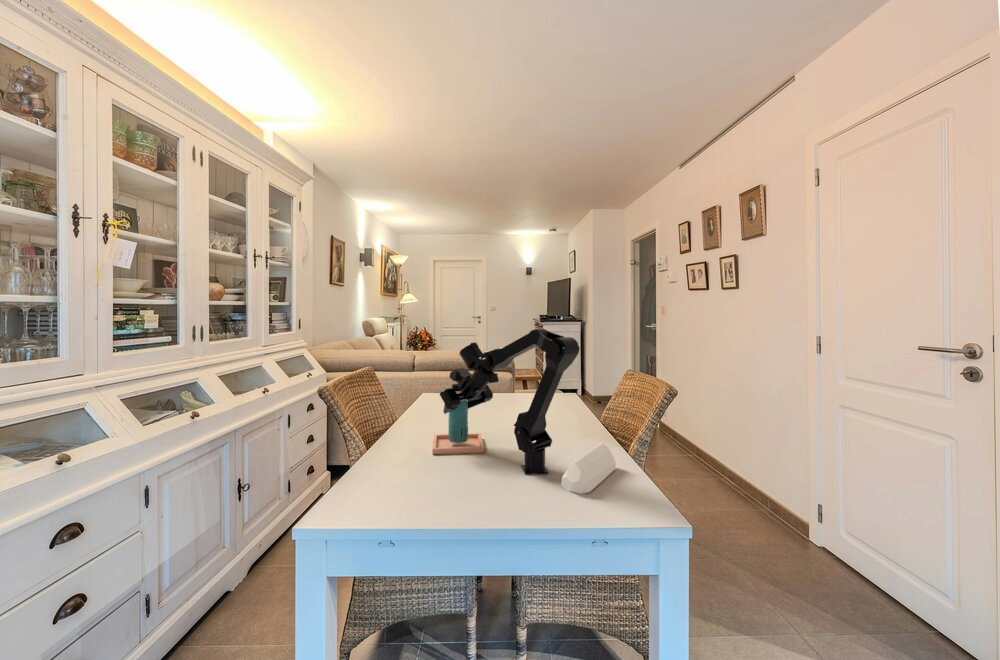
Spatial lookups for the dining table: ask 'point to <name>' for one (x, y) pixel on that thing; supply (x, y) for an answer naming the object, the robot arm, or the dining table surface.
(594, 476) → the crystal
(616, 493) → the dining table surface
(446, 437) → the terracotta tray
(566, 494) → the dining table surface
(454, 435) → the beverage bottle
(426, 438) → the dining table surface
